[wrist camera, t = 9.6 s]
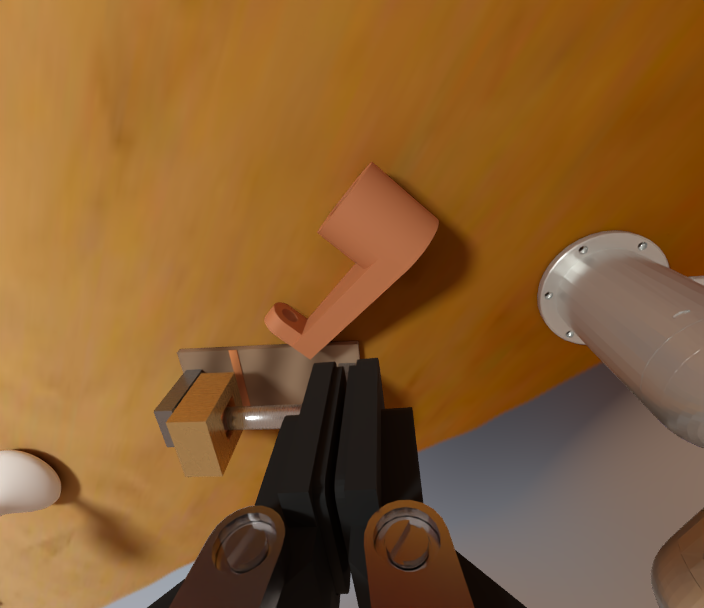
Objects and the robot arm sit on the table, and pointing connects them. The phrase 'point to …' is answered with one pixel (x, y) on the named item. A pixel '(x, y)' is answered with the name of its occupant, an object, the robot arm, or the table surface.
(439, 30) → the table surface
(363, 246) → the crank
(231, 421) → the pipe rail
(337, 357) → the base board
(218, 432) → the collar
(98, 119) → the table surface
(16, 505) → the flower in vase
